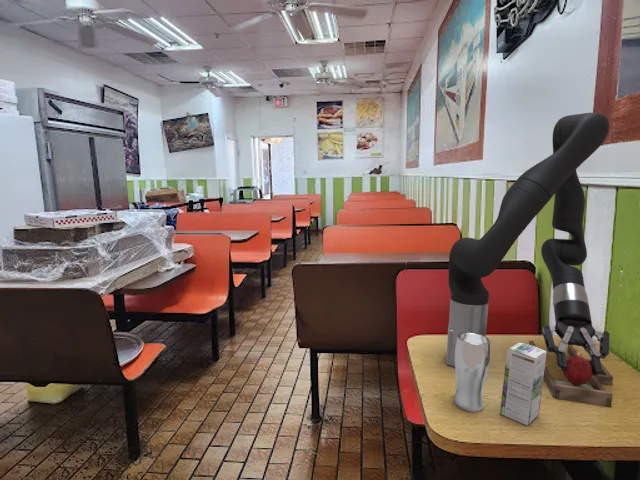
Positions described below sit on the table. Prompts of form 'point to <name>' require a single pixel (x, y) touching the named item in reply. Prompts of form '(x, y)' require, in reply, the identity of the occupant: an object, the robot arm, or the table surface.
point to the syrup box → (523, 383)
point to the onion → (578, 370)
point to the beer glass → (471, 370)
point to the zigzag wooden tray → (581, 392)
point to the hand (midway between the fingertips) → (580, 371)
